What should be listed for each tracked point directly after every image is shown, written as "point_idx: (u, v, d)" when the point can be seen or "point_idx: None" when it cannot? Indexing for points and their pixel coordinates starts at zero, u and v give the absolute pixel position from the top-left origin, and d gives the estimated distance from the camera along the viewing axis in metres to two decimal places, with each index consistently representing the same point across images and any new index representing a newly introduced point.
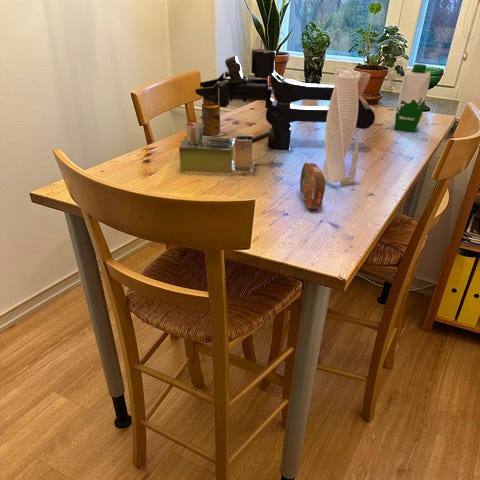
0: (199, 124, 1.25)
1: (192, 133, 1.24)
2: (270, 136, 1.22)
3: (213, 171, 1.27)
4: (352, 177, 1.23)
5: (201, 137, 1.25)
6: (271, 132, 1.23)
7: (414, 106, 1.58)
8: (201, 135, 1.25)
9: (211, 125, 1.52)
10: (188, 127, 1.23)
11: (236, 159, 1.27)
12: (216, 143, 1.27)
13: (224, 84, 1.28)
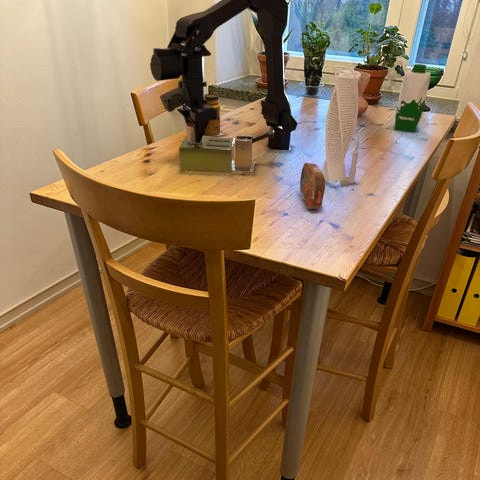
0: None
1: (192, 133, 1.24)
2: (270, 136, 1.22)
3: (213, 171, 1.27)
4: (352, 177, 1.23)
5: None
6: (271, 132, 1.23)
7: (414, 106, 1.58)
8: None
9: (211, 125, 1.52)
10: (188, 127, 1.23)
11: (236, 159, 1.27)
12: (216, 143, 1.27)
13: (195, 115, 1.14)
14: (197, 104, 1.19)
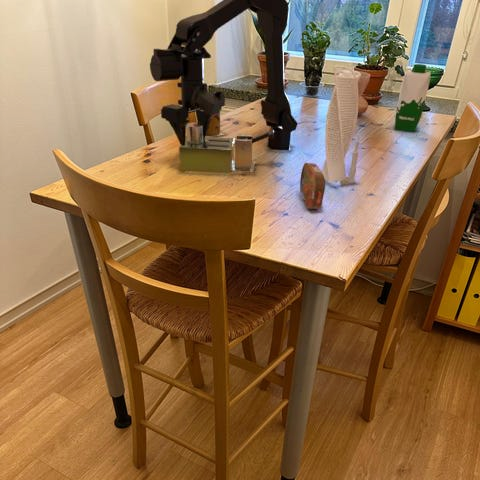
0: (191, 123, 1.25)
1: None
2: (270, 136, 1.22)
3: (213, 171, 1.27)
4: (352, 177, 1.23)
5: None
6: (271, 132, 1.23)
7: (414, 106, 1.58)
8: None
9: (211, 125, 1.52)
10: (202, 126, 1.24)
11: (236, 159, 1.27)
12: (216, 143, 1.27)
13: None
14: None
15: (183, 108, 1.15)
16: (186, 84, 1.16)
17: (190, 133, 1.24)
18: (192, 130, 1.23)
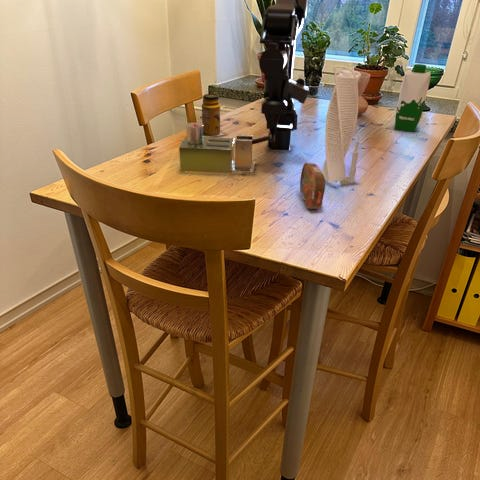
0: (191, 123, 1.25)
1: None
2: (271, 140, 1.22)
3: (213, 171, 1.27)
4: (352, 177, 1.23)
5: None
6: (272, 136, 1.23)
7: (414, 106, 1.58)
8: None
9: (211, 125, 1.52)
10: (202, 126, 1.24)
11: (236, 159, 1.27)
12: (216, 143, 1.27)
13: None
14: None
15: (284, 100, 1.13)
16: (277, 75, 1.13)
17: (190, 133, 1.24)
18: (192, 130, 1.23)
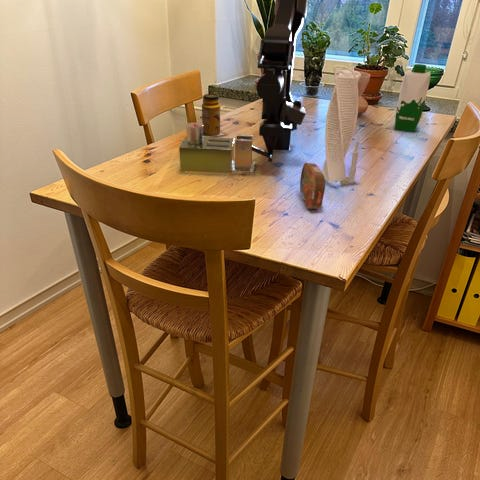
0: (191, 123, 1.25)
1: None
2: (269, 159, 1.25)
3: (213, 171, 1.27)
4: (352, 177, 1.23)
5: None
6: (272, 156, 1.26)
7: (414, 106, 1.58)
8: None
9: (211, 125, 1.52)
10: (202, 126, 1.24)
11: (236, 159, 1.27)
12: (216, 143, 1.27)
13: None
14: None
15: (281, 122, 1.16)
16: (275, 98, 1.16)
17: (190, 133, 1.24)
18: (192, 130, 1.23)
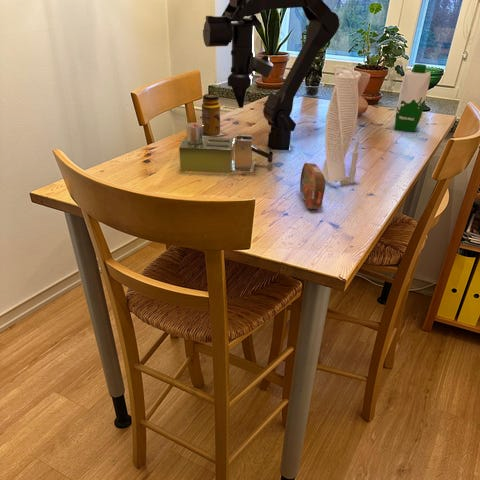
0: (191, 123, 1.25)
1: None
2: (269, 160, 1.26)
3: (213, 171, 1.27)
4: (352, 177, 1.23)
5: None
6: (271, 157, 1.27)
7: (414, 106, 1.58)
8: None
9: (211, 125, 1.52)
10: (202, 126, 1.24)
11: (236, 159, 1.27)
12: (216, 143, 1.27)
13: None
14: None
15: (248, 74, 1.23)
16: (243, 51, 1.23)
17: (190, 133, 1.24)
18: (192, 130, 1.23)
